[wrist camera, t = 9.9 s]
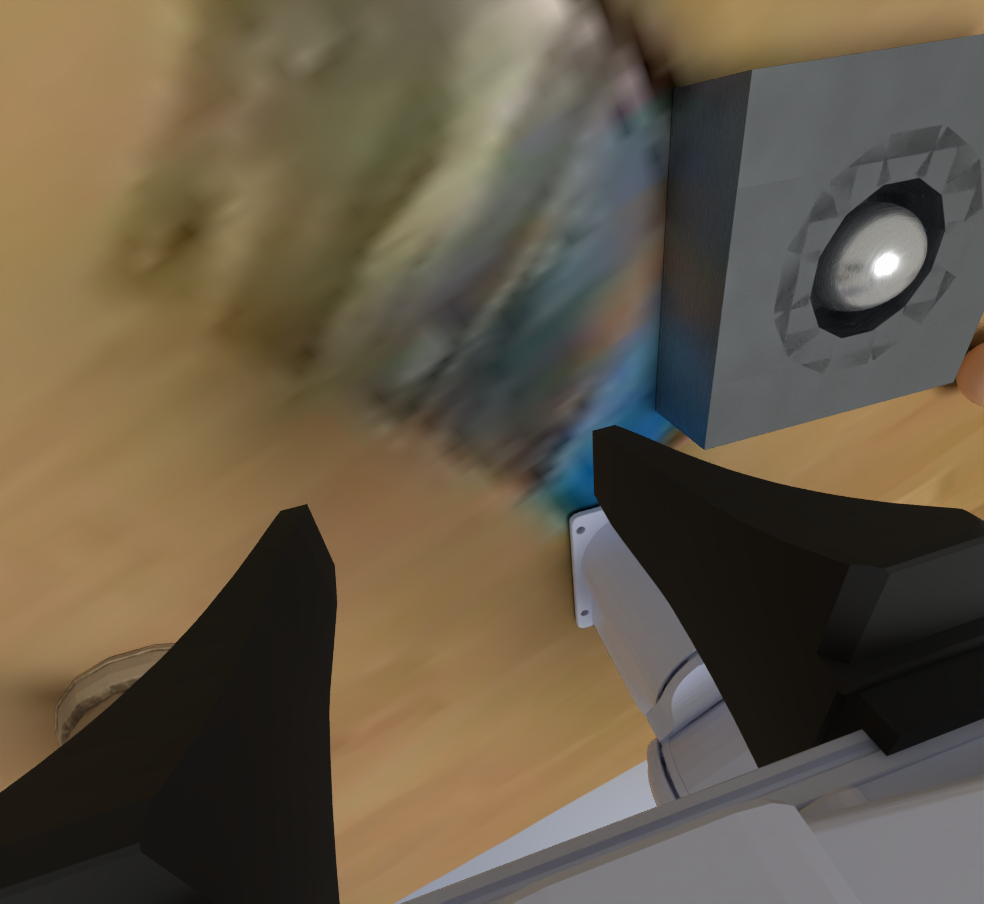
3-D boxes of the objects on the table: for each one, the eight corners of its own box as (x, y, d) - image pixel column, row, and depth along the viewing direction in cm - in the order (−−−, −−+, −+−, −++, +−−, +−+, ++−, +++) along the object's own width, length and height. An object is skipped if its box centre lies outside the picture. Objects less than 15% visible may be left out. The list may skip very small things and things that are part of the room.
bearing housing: (875, 354, 26) (953, 382, 22) (655, 410, 24) (704, 449, 20) (975, 41, 19) (1110, 14, 15) (673, 89, 17) (752, 69, 13)
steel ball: (848, 287, 22) (936, 309, 18) (769, 308, 21) (844, 334, 18) (871, 189, 20) (975, 194, 16) (783, 210, 19) (872, 219, 16)
